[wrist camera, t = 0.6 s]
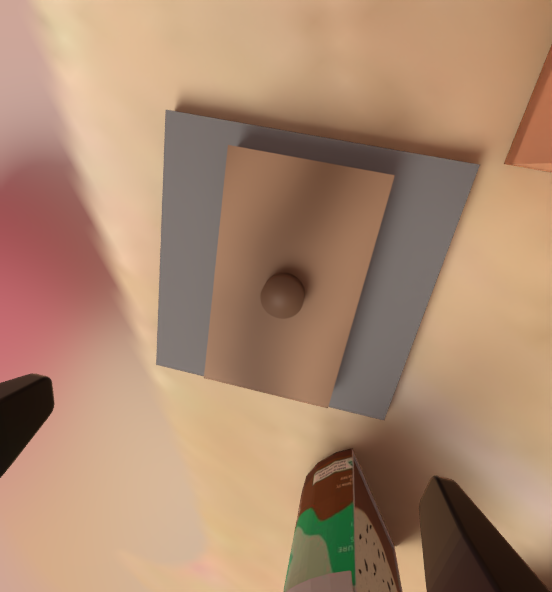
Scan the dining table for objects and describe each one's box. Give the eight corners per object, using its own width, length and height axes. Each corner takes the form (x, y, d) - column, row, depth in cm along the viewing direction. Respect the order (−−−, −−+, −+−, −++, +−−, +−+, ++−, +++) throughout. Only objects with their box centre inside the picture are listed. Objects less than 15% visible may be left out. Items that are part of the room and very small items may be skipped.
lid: (389, 174, 15) (398, 175, 13) (328, 392, 19) (327, 418, 17) (237, 146, 15) (222, 143, 13) (212, 364, 20) (198, 386, 18)
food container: (257, 448, 23) (206, 638, 14) (344, 430, 21) (352, 633, 12) (320, 567, 26) (314, 784, 17) (400, 560, 25) (440, 796, 15)
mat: (472, 165, 15) (479, 164, 14) (382, 411, 20) (383, 420, 19) (173, 112, 16) (165, 109, 15) (162, 357, 21) (156, 364, 21)
